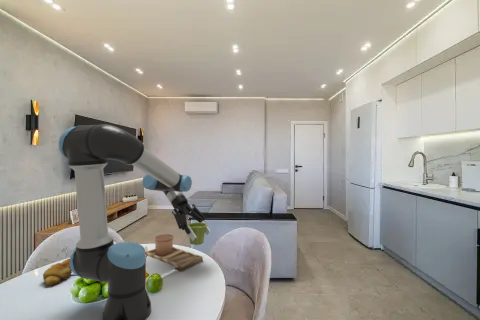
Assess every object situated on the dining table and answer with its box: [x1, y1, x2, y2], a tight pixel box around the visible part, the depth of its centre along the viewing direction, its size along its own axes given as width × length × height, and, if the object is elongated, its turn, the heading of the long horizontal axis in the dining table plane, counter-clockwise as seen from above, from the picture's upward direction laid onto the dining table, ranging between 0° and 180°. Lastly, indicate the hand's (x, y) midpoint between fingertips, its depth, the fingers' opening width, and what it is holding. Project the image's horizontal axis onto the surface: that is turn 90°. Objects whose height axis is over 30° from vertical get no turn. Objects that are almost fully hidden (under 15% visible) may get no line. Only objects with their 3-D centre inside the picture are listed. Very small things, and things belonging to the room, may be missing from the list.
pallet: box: [145, 246, 204, 273], centre depth 133 cm, size 30×14×3 cm, turn 53°
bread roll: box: [42, 258, 73, 286], centre depth 110 cm, size 13×10×8 cm
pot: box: [154, 233, 175, 256], centre depth 137 cm, size 10×10×9 cm
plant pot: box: [187, 222, 208, 246], centre depth 119 cm, size 9×9×9 cm
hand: (201, 235), depth 117 cm, fingers closed on plant pot, 9 cm apart
